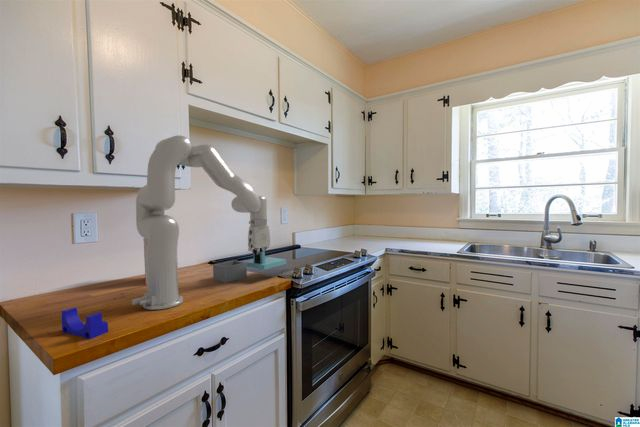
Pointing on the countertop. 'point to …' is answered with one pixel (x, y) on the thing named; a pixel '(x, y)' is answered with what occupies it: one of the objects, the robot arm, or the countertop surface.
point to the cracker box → (145, 258)
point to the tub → (229, 271)
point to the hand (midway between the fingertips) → (259, 262)
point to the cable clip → (87, 330)
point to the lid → (266, 262)
